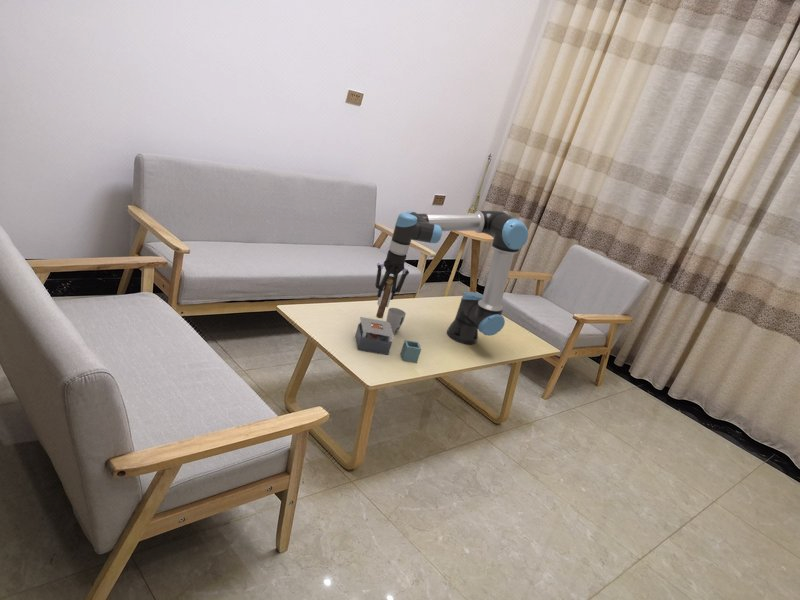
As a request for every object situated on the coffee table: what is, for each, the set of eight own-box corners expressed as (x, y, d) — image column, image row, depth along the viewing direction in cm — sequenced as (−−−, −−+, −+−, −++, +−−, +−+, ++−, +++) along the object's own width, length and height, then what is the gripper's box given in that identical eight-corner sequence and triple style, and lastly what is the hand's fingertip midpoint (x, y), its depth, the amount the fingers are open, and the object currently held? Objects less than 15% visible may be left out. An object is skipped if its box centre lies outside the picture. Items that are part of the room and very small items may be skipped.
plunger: (378, 333, 229) (380, 325, 228) (379, 337, 226) (381, 329, 225) (369, 332, 228) (372, 323, 227) (370, 336, 225) (373, 327, 224)
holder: (414, 355, 231) (418, 342, 228) (416, 362, 225) (421, 349, 223) (400, 353, 229) (404, 339, 227) (402, 360, 224) (407, 346, 221)
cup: (398, 337, 244) (404, 317, 240) (381, 331, 245) (386, 311, 241) (401, 330, 251) (407, 311, 248) (385, 325, 252) (390, 306, 249)
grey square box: (384, 340, 236) (389, 322, 233) (388, 355, 225) (394, 335, 221) (355, 335, 233) (360, 316, 230) (357, 350, 221) (363, 330, 218)
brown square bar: (382, 316, 226) (393, 276, 220) (383, 318, 223) (394, 279, 217) (375, 314, 225) (386, 275, 219) (376, 317, 222) (387, 277, 216)
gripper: (414, 253, 220) (399, 305, 228) (377, 244, 216) (363, 298, 224) (418, 259, 213) (402, 312, 221) (379, 250, 209) (364, 305, 217)
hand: (382, 305), depth 222 cm, fingers closed on brown square bar, 3 cm apart
